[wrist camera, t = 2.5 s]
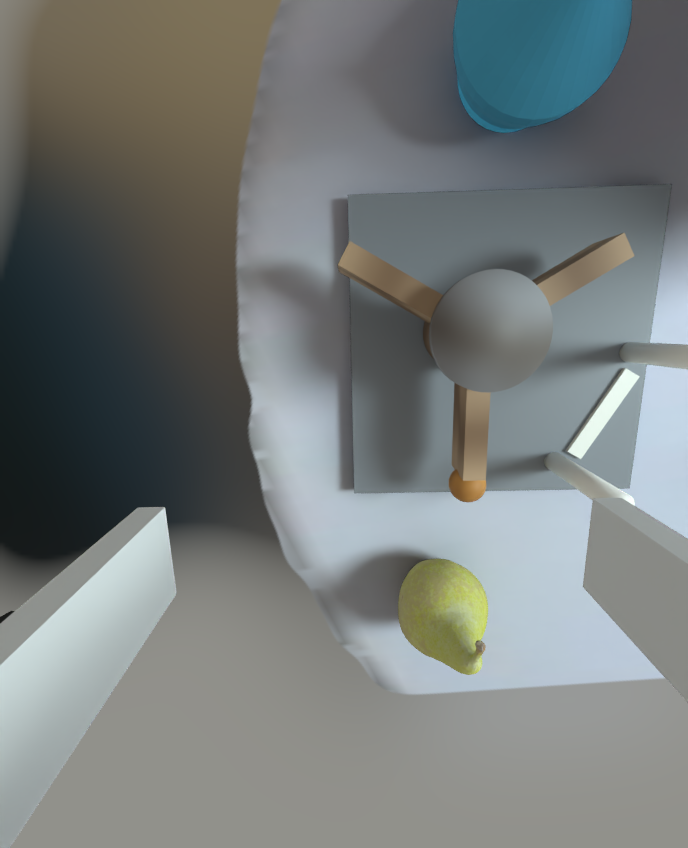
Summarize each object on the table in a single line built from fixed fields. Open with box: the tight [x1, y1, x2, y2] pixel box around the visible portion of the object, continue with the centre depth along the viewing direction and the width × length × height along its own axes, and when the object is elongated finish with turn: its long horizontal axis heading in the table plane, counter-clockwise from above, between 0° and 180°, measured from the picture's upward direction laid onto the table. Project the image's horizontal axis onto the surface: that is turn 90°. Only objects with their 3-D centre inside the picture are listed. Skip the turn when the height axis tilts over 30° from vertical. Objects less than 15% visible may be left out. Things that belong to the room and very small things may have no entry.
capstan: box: [338, 233, 634, 502], centre depth 26 cm, size 16×16×7 cm
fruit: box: [398, 559, 488, 675], centre depth 29 cm, size 7×8×12 cm
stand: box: [348, 184, 688, 506], centre depth 26 cm, size 21×21×9 cm
